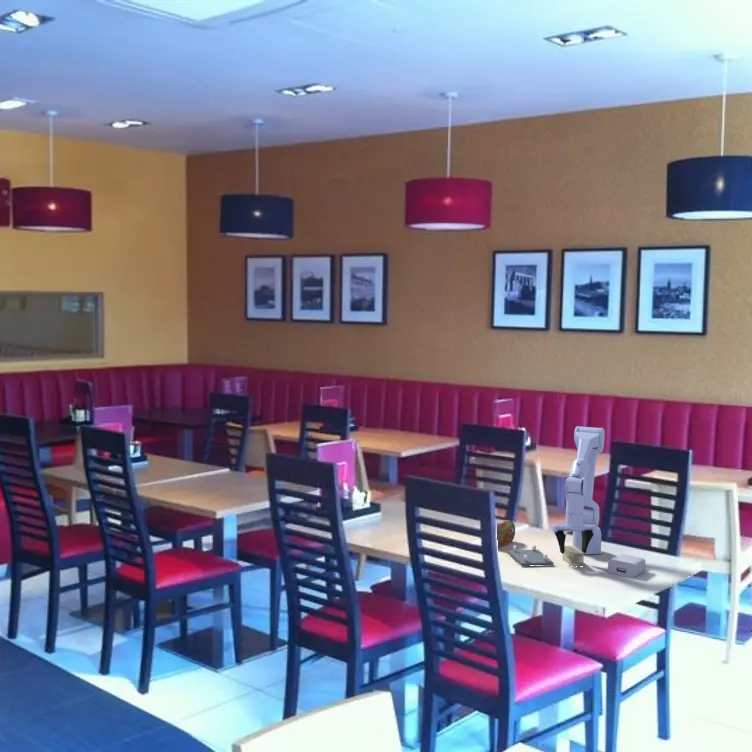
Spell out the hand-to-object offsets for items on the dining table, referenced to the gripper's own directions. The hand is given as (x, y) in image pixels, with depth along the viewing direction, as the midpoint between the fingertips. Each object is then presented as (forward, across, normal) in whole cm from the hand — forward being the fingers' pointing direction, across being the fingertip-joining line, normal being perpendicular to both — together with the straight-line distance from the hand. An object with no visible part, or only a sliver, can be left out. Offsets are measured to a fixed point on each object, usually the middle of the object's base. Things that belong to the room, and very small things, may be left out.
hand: (573, 552), depth 311 cm
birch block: (+4, 0, 0) cm, 4 cm away
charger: (+4, +16, -9) cm, 19 cm away
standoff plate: (+4, -13, +6) cm, 15 cm away
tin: (+4, -17, +26) cm, 31 cm away
